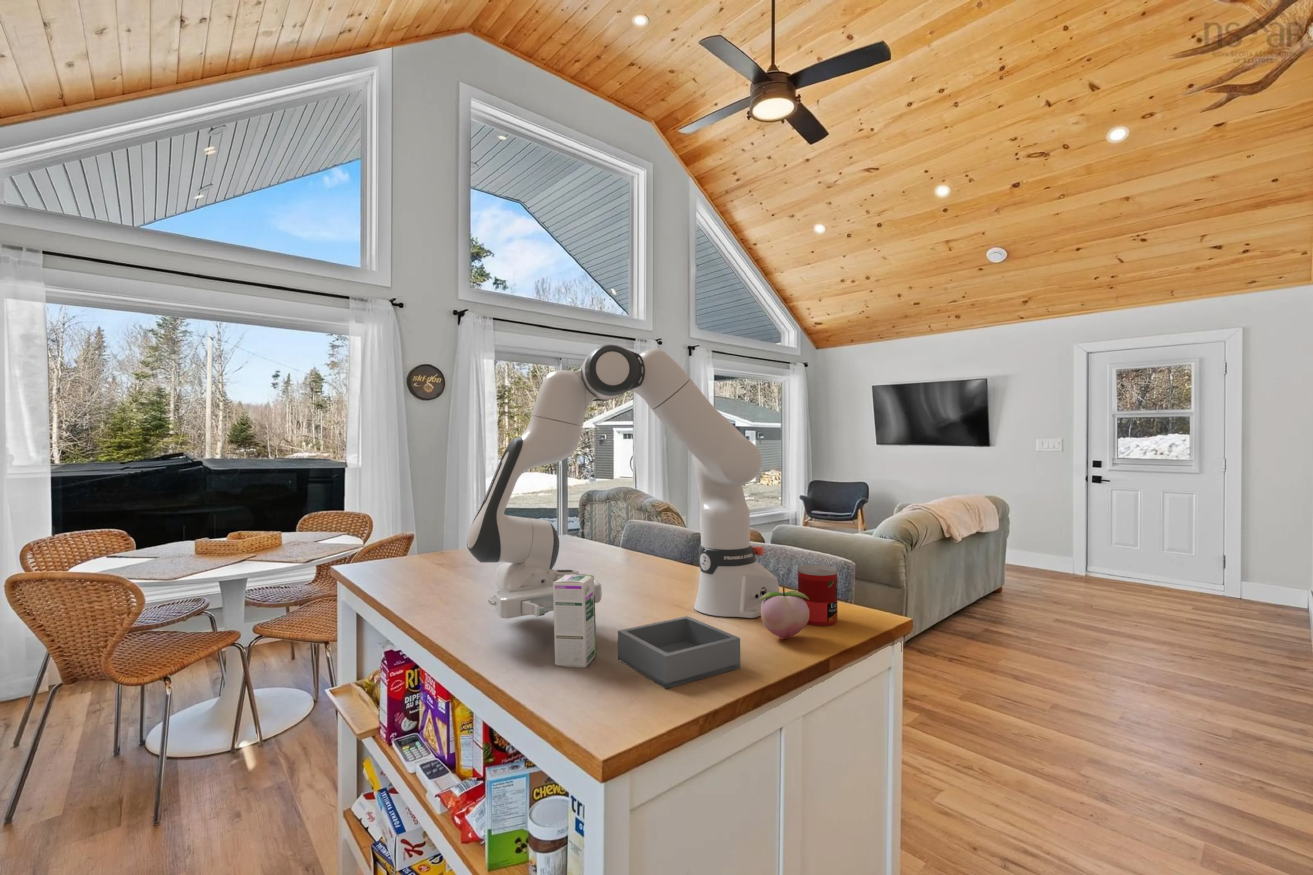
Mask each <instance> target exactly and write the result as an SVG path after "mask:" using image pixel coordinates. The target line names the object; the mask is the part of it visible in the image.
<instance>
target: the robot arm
mask: <svg viewBox="0 0 1313 875" xmlns="http://www.w3.org/2000/svg"><path fill="white" fill-rule="evenodd" d="M629 391H630V392H634V394H635V393H636V394H637V395H638V396H640V397H641V398H642V399H643V400H644V401H645V403H646V404H647V405H648V407H649V408H650V409H651V411H653V414H655V416H657V418H658V419H659V420H660V422H661V423H662V424H663V425H664V427H666V429H667V430H668V431H669V433H671V435H672V436H673V437H674V438H675V439H677V441H679V442H680V443H681V444H682V446H684V447H685V448H686V449H687V450H688V451H689V452H690V453H691V454H692V456H691V461H692V462H691V463H692V466H693V469H694V474H695V475H694V476H695V477H694V478H695V484H696V490H697V496H698V501H699V502H698V503H699V510H700V545H699V548H698V562H699V569H700V571H699V572H700V573H699V580H698V588H697V594H696V599H695V602H694V606H693V607H694V609H695V610H696V611H698V612H700V613H702V614H705V615H710V616H716V617H727V618H729V617H731V618H732V617H733V618H735V617H737V618H744V619H745V618H746V619H755V618H757V617H761V604H762V602H763V600H764V599H763V600H760V598H761V597H762V596H763V595H765V594H766V593H769V592H780V586H779V585H780V584H779V582H778V579H777V577H776V576H775V575H774V574H773V573H772V572H770V571H769V570H767V568H765V567H764V566H763V565H762V564H761V563H759V562H758V561H757V557H756V556H759V557H762V556H764V555H765V548H764V547H763V546H758V545H756V546H753V545H751V527H750V526H751V525H750V520H751V518H750V517H751V516H750V508H749V506H748V504H747V500H746V497H745V492H744V489H743V485H744V484H745V485H746V484H747V483H749V482H751V481H753V480H754V479H755V478H756V477H757V476H758V475H759V473H760V472H761V471H760V470H761V468H762V462H763V461H762V455H761V451H760V450H759V448H758V447H757V445H756V444H754V443H753V442H752V441H751V440H749V439H748V438H746V436H744V434H743V433H742V432H741V431H739V430H738V428H737V427H736V426H735V425H734V424H733V423H732V422H730V421H729V420H728V419H727V418H726V417H725V416H724V415H723V414H722V413H721V412H720V411H718V409H717V408H716V407H715V406H714V405H713V404H712V403H711V401H709V399H708V398H707V397H706V396H705V395H704V393H703V392H702V391H701V390H700V388H699V387H698V385H697V384H696V383H695V382H694V381H693V379H692V378H691V377H690V376H689V374H687V372H686V371H685V370H684V369H683V368H682V367H681V366H680V365H679V364H678V363H677V362H676V361H675V360H674V359H673V358H672V357H671V356H669V354H667V353H666V352H665V351H664V350H662V349H660V348H656V347H655V348H649V349H646V350H643V351H641V353H637V352H635V351H632V350H630V349H627V348H625V347H622V346H620V345H615V344H603V345H600V346H598V347H596V348H595V349H593V350H592V351H591V353H589V354H588V355H587V356H586V357H585V359H584V361H583V363H582V364H581V366H580V367H579V368H578V370H575V371H571V370H567V369H558V370H553V371H551V372H549V373H548V374H547V375H546V376H545V377H544V379H543V381H542V383H541V386H540V388H539V390H538V393H537V396H536V399H535V401H534V406H533V410H532V412H531V417H530V420H529V423H528V425H527V426H526V429H525V430H524V432H523V433H522V434H521V435H520V436H519V437H516V438H512V439H511V440H510V442H509V443H508V445H507V447H506V448H505V450H504V452H503V455H502V456H501V459H500V460H499V463H498V465H497V467H496V469H495V472H494V475H493V477H492V479H491V483H490V484H489V486H488V489H487V491H486V494H485V495H484V496H485V497H484V499H483V500H482V503H481V505H480V507H479V510H478V512H477V513H476V515H475V517H474V519H473V521H472V523H471V526H470V528H469V530H468V533H467V539H466V547H467V550H468V551H469V552H470V554H471V555H472V556H473V557H474V558H475V559H476V560H477V561H478V562H479V563H487V564H489V563H500V564H499V565H498V567H497V569H496V570H495V576H494V581H495V584H496V587H497V589H498V591H497V592H495V594H494V595H493V596H492V597H489V598H488V599H487V603H488V604H489V605H491V606H494V607H495V613H496V614H497V615H498V617H499V618H501V619H507V620H508V619H512V618H513V619H514V618H518V617H519V618H520V617H525V616H531V615H532V616H535V617H542V616H545V614H547V613H548V612H552V611H553V612H554V599H553V583H554V582H555V581H557V580H559V579H561V578H562V577H564V575H570V574H580V572H579V571H578V570H576V569H553V568H554V567H555V565H556V562H557V560H558V556H559V551H560V538H559V536H558V532H557V531H556V528H555V527H554V525H553V524H552V522H550V521H549V520H548V519H547V520H546V519H539V518H533V517H522V516H515V515H507V514H505V511H506V509H507V506H508V503H509V501H510V498H511V497H512V493H513V491H514V489H515V486H516V483H517V482H518V480H519V478H520V477H521V476H522V475H523V474H524V473H525V472H528V471H529V470H531V469H533V468H538V467H541V466H547V465H553V464H555V463H559V462H561V461H564V460H566V459H568V457H570V456H572V454H573V453H575V451H576V450H577V447H578V445H579V444H580V443H579V442H580V439H581V436H582V433H583V432H582V431H583V426H584V422H585V417H586V414H587V410H588V408H589V406H590V405H591V404H592V402H605V401H610V400H614V399H617V398H619V397H621V396H623V395H624V394H625V393H627V392H629ZM594 585H595V604H598V603H601V600H602V596H603V594H602V593H603V592H602V584H601V583H600V582H599V581H597V580H596V579H594ZM759 600H760V601H759Z"/></svg>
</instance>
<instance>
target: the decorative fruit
mask: <svg viewBox="0 0 1313 875" xmlns="http://www.w3.org/2000/svg"><path fill="white" fill-rule="evenodd" d="M785 588H786V587H785V586H782V591H779V592H769V593H766V594H765V595H763V596H762V597H761V598H760V600H763V599H764V600H763V602H762V604H761V616H760V618H761V621H762V624H763V625H764V628H766V630H768V631H769V632H770V633H771V634H773V635H774V636H776V637H779V638H781V639H783V640H787V639H790V638H792V637H794V636H795V635H797V634H798V633H800V632H801V631H802V630H804V628H805V627H806V626H807V625H808V624H807V623H808V620H809V609H808V606H807V604H806V602H805V601H804V599H803V598H806V599H809V598H808V597H807V596H806V595H804V594H803V593H801V592H798V590H789V591H786V590H785ZM802 597H803V598H802ZM760 600H759V601H760Z"/></svg>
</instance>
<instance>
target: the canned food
mask: <svg viewBox="0 0 1313 875" xmlns="http://www.w3.org/2000/svg"><path fill="white" fill-rule="evenodd" d="M797 591H798V592H801V593H803V594H804V595H806V596H807V597H808V598H809V599H806V598H803V597H802V598H803V599H804V601H805V602H806V604H807V606H808V609H809V620H808V623H807V624H806V625H811V626H814V627H815V626H816V627H817V626H818V627H827V626H833V625H835V624H837V621H838V569H837V568H835V567H834V566H829V565H823V564H805V565H803V564H802V565H800V566H798V568H797Z"/></svg>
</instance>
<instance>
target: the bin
mask: <svg viewBox="0 0 1313 875" xmlns="http://www.w3.org/2000/svg"><path fill="white" fill-rule="evenodd" d="M617 660H618V661H620V660H621V661H620V662H622V663H623V662H624V664H625V663H626V664H625V665H627V666H628V665H629V667H630V668H631V667H632V669H633V670H635V671H636V670H637V671H636V672H638V673H639V672H640V674H641V675H642V676H644V675H645V676H644V677H646V678H647V679H649V680H651V681H652V682H654V683H655V684H657V685H659V686H660V687H662V688H664V689H665V690H667V688H668V689H671V688H674V687H679V686H681V685H686V684H689V683H692V681H693V682H696V681H699V679H700V680H703V679H707V678H710V677H714V676H717V675H721V674H724V673H728V672H731V671H734V669H735V670H737V669H741V637H739V636H737V635H734V634H731V633H729V632H726V631H724V630H722V629H719V628H717V627H714V626H712V625H710V624H708V623H705V622H703V621H700V620H698V619H695V618H693V617H691V616H688V615H685V616H680V617H675V618H671V619H667V620H662V621H658V622H653V623H648V624H644V625H639V626H638V625H637V626H634V627H633V626H632V627H629V628H625V629H620V630H619V629H618V630H617ZM713 675H714V676H713ZM688 682H689V683H688ZM685 683H686V684H685ZM678 685H679V686H678Z"/></svg>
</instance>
